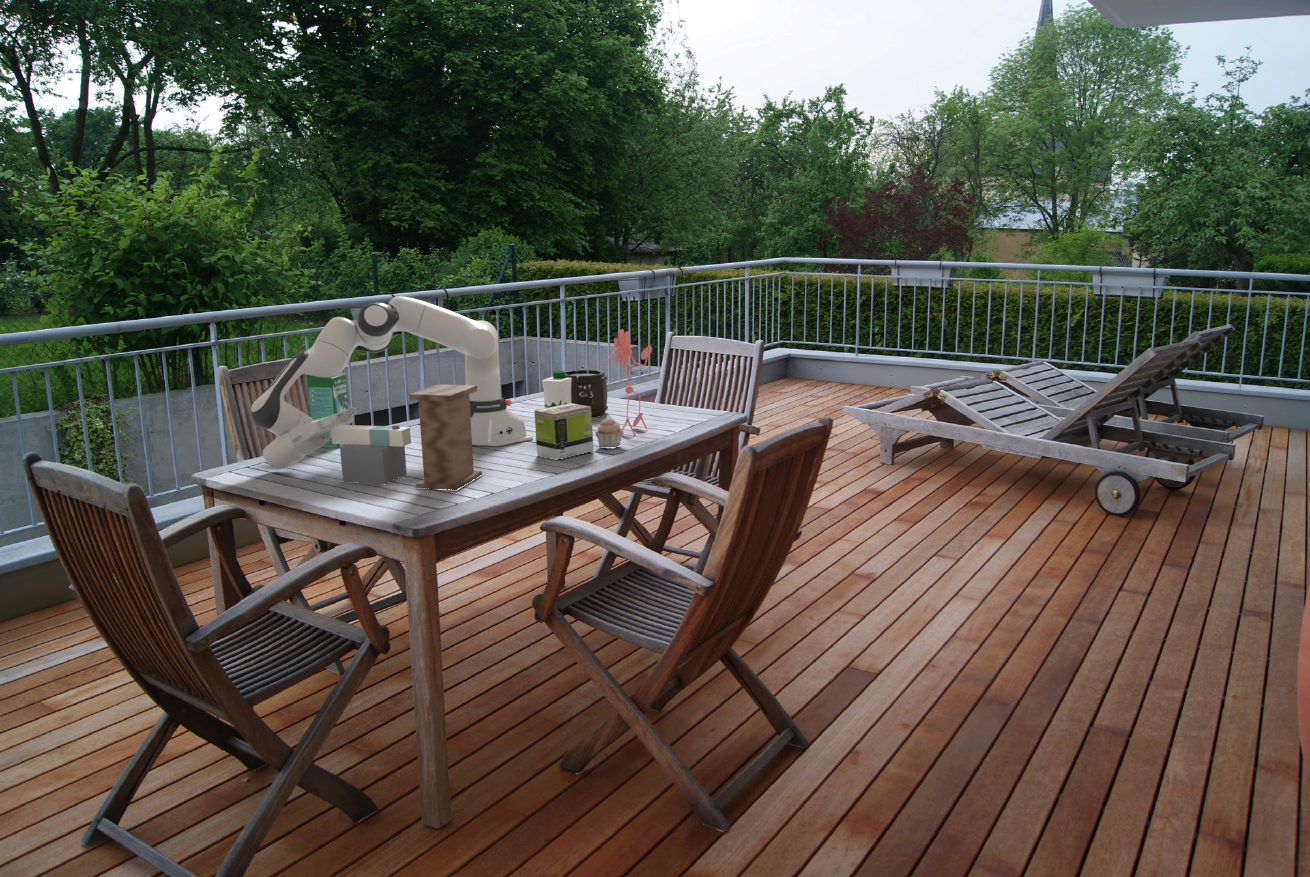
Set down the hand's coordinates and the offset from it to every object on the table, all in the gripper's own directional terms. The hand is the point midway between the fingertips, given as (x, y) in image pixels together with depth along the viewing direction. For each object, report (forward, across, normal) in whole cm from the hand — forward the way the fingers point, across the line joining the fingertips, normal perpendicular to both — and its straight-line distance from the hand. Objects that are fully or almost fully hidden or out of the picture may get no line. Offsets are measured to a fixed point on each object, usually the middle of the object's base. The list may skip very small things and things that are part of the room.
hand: (345, 413), depth 266 cm
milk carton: (-34, +35, +2) cm, 49 cm away
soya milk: (+22, +70, +35) cm, 81 cm away
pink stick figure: (+42, +73, +46) cm, 96 cm away
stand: (+17, 0, +31) cm, 36 cm away
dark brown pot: (+22, +99, +34) cm, 107 cm away
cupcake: (+44, +50, +47) cm, 81 cm away
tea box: (+35, +38, +42) cm, 66 cm away
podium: (-3, 0, +20) cm, 20 cm away
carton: (+2, 0, +11) cm, 11 cm away
